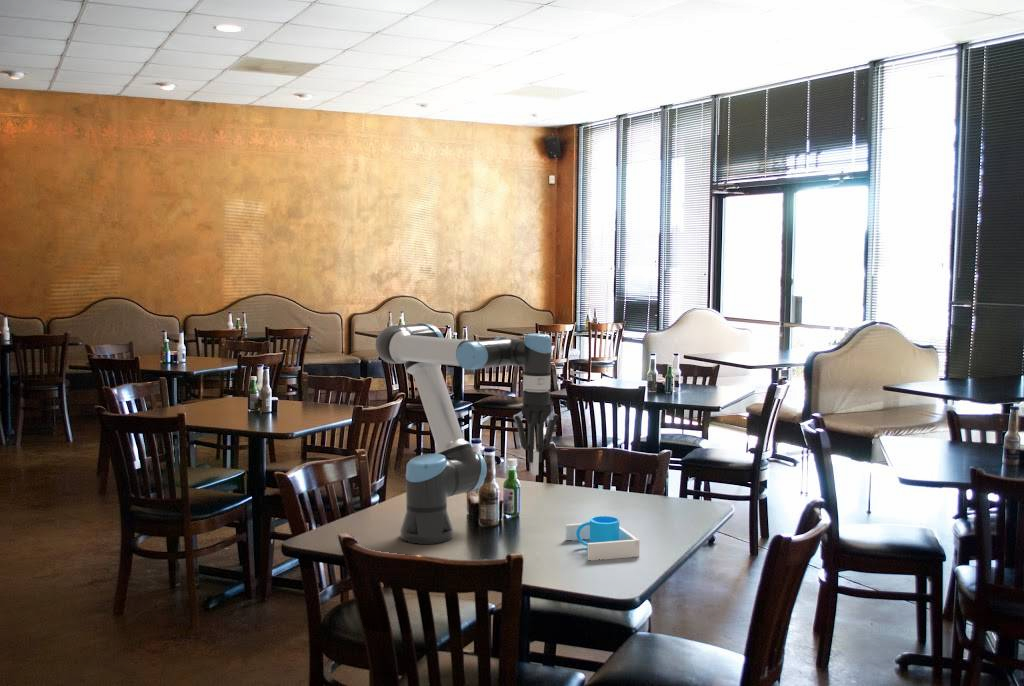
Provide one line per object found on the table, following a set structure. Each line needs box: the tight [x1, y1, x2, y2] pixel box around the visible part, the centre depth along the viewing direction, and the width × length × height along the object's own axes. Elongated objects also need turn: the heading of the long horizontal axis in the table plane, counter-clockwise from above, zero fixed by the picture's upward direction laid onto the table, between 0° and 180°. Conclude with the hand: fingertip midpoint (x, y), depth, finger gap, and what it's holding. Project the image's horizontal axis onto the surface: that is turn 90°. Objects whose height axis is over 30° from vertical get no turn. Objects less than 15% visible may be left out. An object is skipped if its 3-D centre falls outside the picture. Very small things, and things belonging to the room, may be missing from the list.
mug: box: [576, 515, 620, 547], centre depth 267 cm, size 12×8×8 cm
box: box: [565, 523, 641, 561], centre depth 267 cm, size 14×20×4 cm
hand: (534, 473), depth 267 cm, fingers closed
